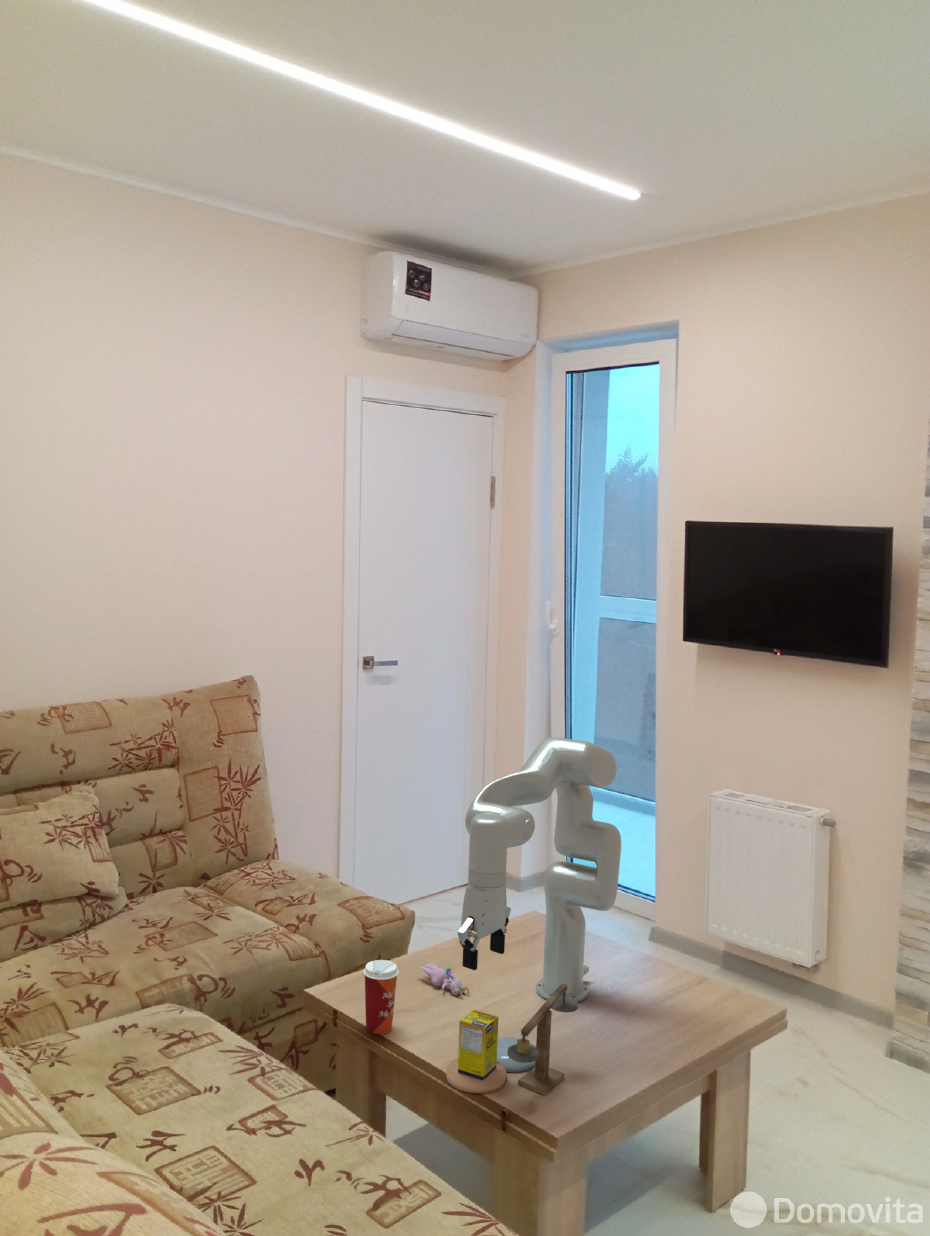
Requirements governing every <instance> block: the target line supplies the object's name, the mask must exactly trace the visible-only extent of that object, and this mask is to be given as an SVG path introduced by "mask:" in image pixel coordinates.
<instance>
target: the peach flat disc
mask: <svg viewBox="0 0 930 1236" xmlns="http://www.w3.org/2000/svg"><path fill="white" fill-rule="evenodd" d="M497 1063H498V1064H497V1066H496V1068H495V1069H494V1070H493V1071H492V1072H491V1073H490V1074H489V1075H488V1076H487V1077H486V1078H485V1079H484V1080H481V1079H478V1078H475V1077H471V1076H468V1075H465V1074H462V1073H458V1058H455V1059H454V1060H452V1061H450V1063H449V1064H448V1065H447V1067H446V1073H445V1075H446V1080H447V1082H448V1084H450V1085H451V1086H452V1087H453V1088H455V1090H456V1089H457V1090H458V1091H461V1092H464V1093H468V1094H480V1095H481V1094H488V1093H492V1092H496V1091H498V1090H500V1089H502V1087H503V1086H504V1085H505V1083H506V1082H507V1072H506V1069H505V1068H504V1066H503V1065H501V1064H500V1063H499V1062H497Z"/></svg>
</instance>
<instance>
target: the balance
mask: <svg viewBox="0 0 930 1236" xmlns="http://www.w3.org/2000/svg"><path fill="white" fill-rule="evenodd" d="M566 990H567V984H564V983H562V984H561V985H560V986H559V987H558V988H557V989H556V990H555V992H554V993H553V994H552V995H551V996H550V997H549V999H546V1001H545V1002H544V1003H543V1004H542V1006H541V1007H540V1008H539V1009H538V1010H537V1011H536V1012H535V1014H534V1015H533V1016H532V1017H531V1018H530V1020H529V1021H528V1022H527V1023H526V1024H525V1025H524V1026H523V1027H522V1028H521V1029H520V1033H521V1036H522V1038H518V1039H519V1040H518V1041H517V1044H515V1045H512V1046H510V1047H509V1048H508V1051H507V1055H508V1057H509V1058H510V1059H512V1060H514V1061H516V1062H521V1063H529V1062H533V1061H535V1067H533V1068H532V1069H530V1070H528V1072H526V1073H525V1074H524V1075H523V1076H521V1077H520V1078H518V1080H517V1085H518V1086H520V1087H522V1088H525V1089H528V1090H530V1091H532V1092H535V1093H538V1094H539V1095H543V1096H545V1095H546V1094H548V1093H549V1092H550V1091H551V1090H553V1088H555V1087H556V1086H557V1085H558V1084H560V1083H561V1082H562V1081H563V1080H565V1073H564V1072H561V1071H559V1070H556V1069H554V1068H551V1067H550V1054H551V1053H550V1051H551V1050H550V1049H551V1034H552V1033H551V1029H552V1010H554V1011H557V1012H559V1013H572V1012H575V1011H577V1010H578V1009H579V1002H577V1001H576V1000H575V999H573V998H570V997H566ZM562 995H563V996H562ZM551 1009H552V1010H551ZM535 1028H536V1042H535V1043H536V1044H535V1047H536V1048H535V1047H533V1046H531V1045H530V1043H531V1042H530V1040H529V1039H528V1038H526V1037H528V1036H529V1035H530V1034H531V1033H532V1031H533V1030H534V1029H535Z"/></svg>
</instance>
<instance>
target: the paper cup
mask: <svg viewBox="0 0 930 1236" xmlns="http://www.w3.org/2000/svg"><path fill="white" fill-rule="evenodd" d="M362 973H363V975H364V994H365V995H364V998H365V999H364V1001H365V1002H364V1003H365V1026H366V1027H365V1028H366V1031H367V1032H369V1033H370V1034H375V1035H385V1034H387V1033H390V1031H391V1030H392V1027H393V1021H394V1020H393V1019H394V1009H395V999H396V989H397V981H398V979H397V978H398V975H399V969H398V965H397V964H396V963H395V962H393V961H391V960H386V959H377V960H376V959H375V960H371V961H369V962H367V963H366V964H365V968H364V969H363V972H362Z"/></svg>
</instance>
